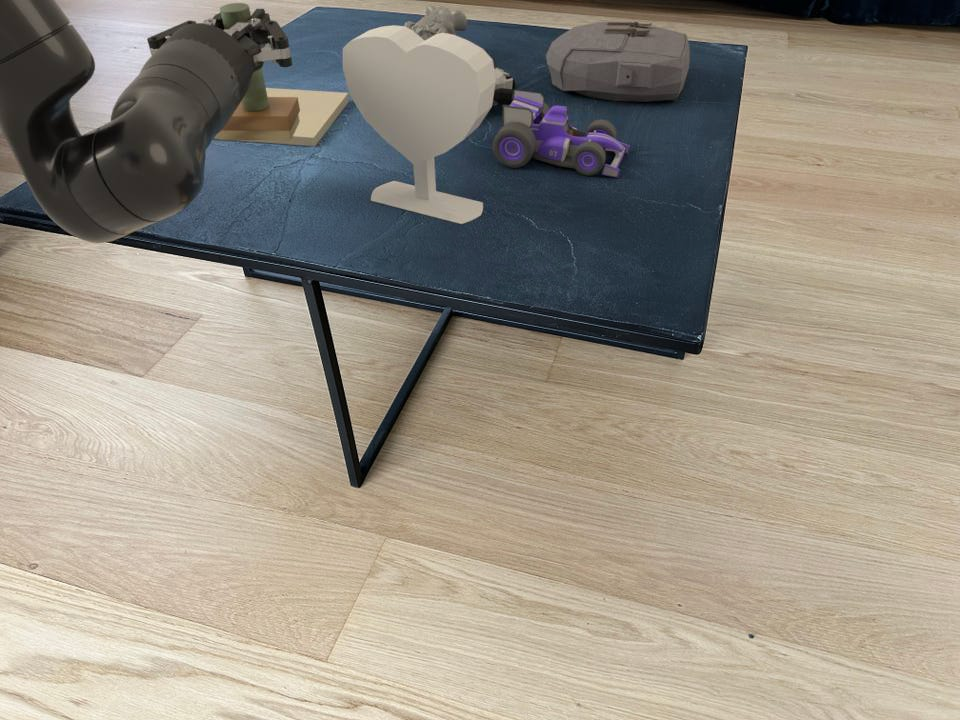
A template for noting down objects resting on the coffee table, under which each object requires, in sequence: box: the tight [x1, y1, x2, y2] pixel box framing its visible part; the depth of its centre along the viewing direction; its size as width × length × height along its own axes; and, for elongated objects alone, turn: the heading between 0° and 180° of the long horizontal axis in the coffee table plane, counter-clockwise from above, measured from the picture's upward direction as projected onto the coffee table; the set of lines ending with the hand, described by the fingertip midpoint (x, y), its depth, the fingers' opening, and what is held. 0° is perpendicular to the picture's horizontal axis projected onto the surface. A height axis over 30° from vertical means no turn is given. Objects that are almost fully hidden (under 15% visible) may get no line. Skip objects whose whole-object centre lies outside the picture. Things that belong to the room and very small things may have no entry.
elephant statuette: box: [403, 4, 468, 41], centre depth 112 cm, size 9×12×8 cm
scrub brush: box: [219, 2, 300, 141], centre depth 78 cm, size 8×5×13 cm, turn 88°
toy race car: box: [492, 89, 631, 178], centre depth 89 cm, size 10×15×6 cm, turn 70°
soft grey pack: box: [545, 21, 691, 103], centre depth 105 cm, size 15×8×20 cm
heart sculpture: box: [342, 24, 496, 225], centre depth 78 cm, size 16×5×18 cm, turn 63°
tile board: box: [213, 87, 350, 147], centre depth 100 cm, size 20×14×1 cm
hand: (246, 18), depth 77 cm, fingers closed on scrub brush, 3 cm apart
